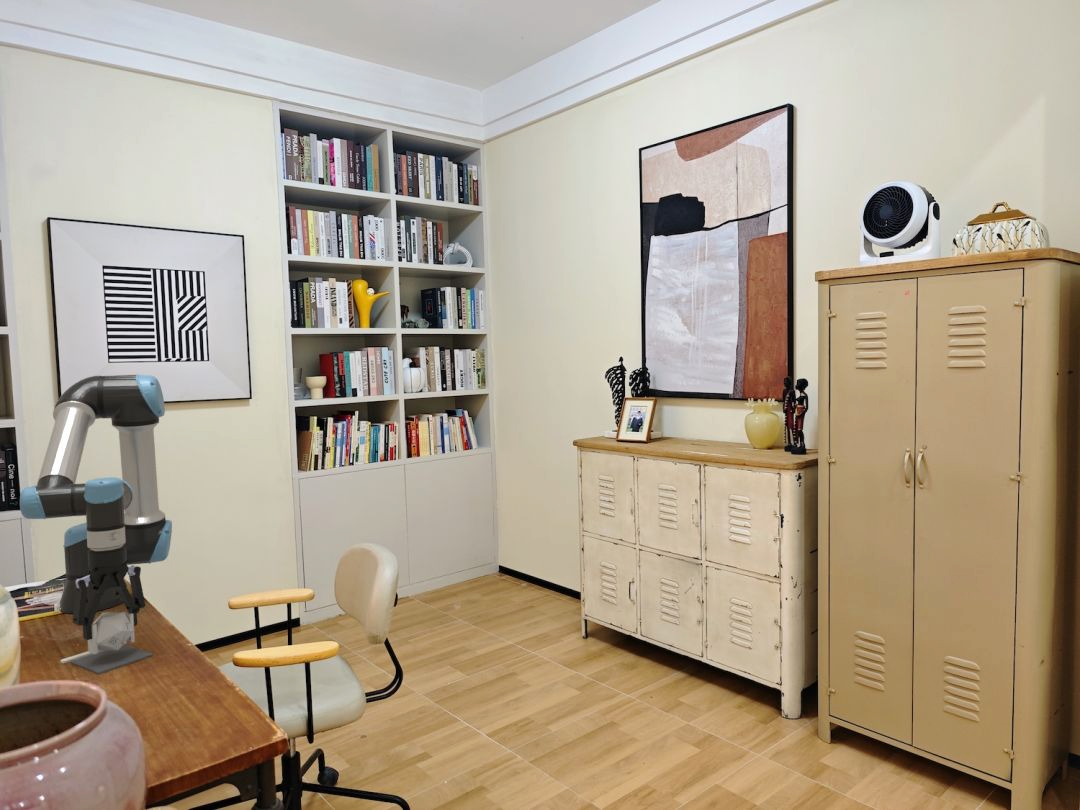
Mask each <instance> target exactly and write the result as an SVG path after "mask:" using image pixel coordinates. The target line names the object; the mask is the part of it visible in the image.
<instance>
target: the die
mask: <svg viewBox="0 0 1080 810" xmlns="http://www.w3.org/2000/svg"><path fill="white" fill-rule="evenodd" d="M93 623H94V624H97V635H96V638H95V641H96V643H97V645H98V650H119V649H120V647H121V646H122V645H123V644H124V643H125V642H127V641H126V640H127V639H128V638H129V637H130V636H131V635H132V633H133V632H134V633H135V629H134V630H133V628H132V626H131V624H130V622H129V620H128V618H127V616H126V615H125V611H123V612H121V611H120V612H119V611H118V612H117V611H115V612H114V611H113V612H112V611H111V612H109V611H108V612H107V611H105V612H101V614H100V615H98V617H96V619H95V620H93Z"/></svg>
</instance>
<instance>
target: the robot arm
mask: <svg viewBox="0 0 1080 810" xmlns="http://www.w3.org/2000/svg"><path fill="white" fill-rule="evenodd" d="M164 399H165V398H164V394H163V391H162V386H161V384H160V382H159V380H158V378H156V377H155V376H153V375H146V374H125V375H124V374H120V375H118V374H117V375H93V376H89V377H85V378H83V379H81V380H79V381H77V382H75V383H74V384H72V385H71V386H69V387H68V389H66V390H65V391H64V392H63V393H62V394H61V395H60V396H59V398H58V400H57V401H56V402H55V405H54V409H53V411H52V416H53V417H52V418H53V420H54V425H53V428H52V432H51V435H50V439H49V441H48V445H47V449H46V452H45V456H44V459H43V462H42V466H41V468H40V469H41V470H40V471H39V477H38V479H37V483H36V485H32V486H26V487H23V489H22V490H21V492H20V496H19V510H20V513H21V515H22V517H23V518H24V519H26V520H27V519H28V520H46V519H56V518H65V517H66V518H67V517H82V516H84V517H86V519H85V521H86V522H84V523H80V524H76V525H73V526H72V527H70V528H68V529H66V531H65V532H64V535H63V537H64V540H63V541H64V542H63V543H64V544H63V549H64V550H63V551H64V565H65V566H64V567H65V585H64V587H63V591H62V594H61V597H60V601H59V609H60V608H61V610H62V611H61V613H65V614H73V615H72V623H73V624H75V625H79V626H82V632H83V633H82V636H83V637H82V638H83V639H84V640H87V651H88V652H90V653H92V655H93V654H97V653H98V645H97V643H96V641H95V638H96V635H97V624H94V621H95V620H94V619H95V617H96V613H97V612H100V611H103V610H106V609H110V608H113V607H116V606H118V605H119V604H122V603H123V604H124V607H125V609H126V610H127V611H124V613H125V615H126V616H127V618H128V620H129V622H130V624H131V626H132V628H133V630H134V632H133V633H132V635H131V636H130V637H129V638H128V639H127V640H126V642H128V643H135V642H136V640H135V627H136V626H137V625H138V613H140V609H143V608H145V607H146V600H145V596H144V592H143V591H144V590H143V585H142V582H141V581H142V580H141V573H142V572H141V570H142V569H141V568H142V567H141V566H137V565H140V564H141V565H142V564H152V563H157V562H160V563H161V562H164V561H165V560H167V558H168V556H169V552H170V548H171V541H172V532H173V531H172V530H173V521H172V520H170V519H166V513H165V512H163V511H162V510H161V509H160V505H159V491H158V477H157V461H156V448H155V447H156V446H155V444H156V443H155V431H154V429H155V427H156V426H157V425H158V424H159V423H160V418H162V417H164V416H165V411H166V409H165V400H164ZM99 419H110V420H111V426H112V427H113V428H115V429H116V430H117V431H118V439H119V450H120V452H119V453H120V465H121V466H120V467H121V478H119V477H99V478H94V479H89V480H87V481H86V482H85V483H76V481H77V476H78V474H79V473H78V472H79V467H80V464H81V461H82V456H83V453H84V447H85V446H86V445H85V444H86V440H87V436H88V433H89V428H90V427H92V425H93V424H94V423H95V421H96V420H99ZM129 565H131V566H129ZM126 575H128V577H129V578H128V579H129V584H130V588H131V589H130V590H131V593H132V595H131V593H130V591H129V589H128V586H127V583H126V581H125V580H124V579H125V577H126Z"/></svg>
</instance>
